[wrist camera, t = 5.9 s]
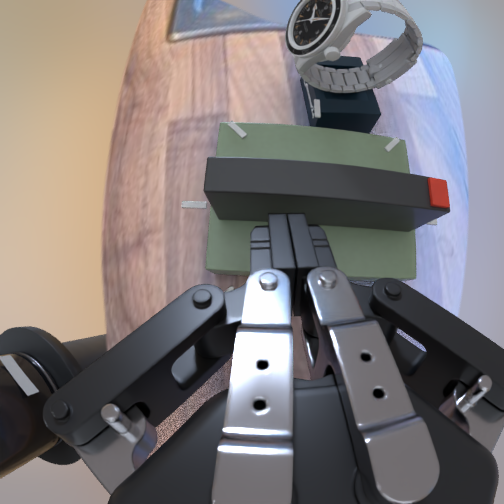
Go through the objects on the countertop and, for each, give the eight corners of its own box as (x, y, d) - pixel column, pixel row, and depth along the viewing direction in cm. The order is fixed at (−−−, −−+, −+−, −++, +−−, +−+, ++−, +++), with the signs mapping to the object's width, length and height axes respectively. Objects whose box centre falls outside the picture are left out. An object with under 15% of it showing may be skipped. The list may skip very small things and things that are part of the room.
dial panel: (185, 336, 18) (170, 343, 15) (206, 120, 20) (198, 95, 17) (412, 341, 18) (435, 347, 15) (403, 138, 20) (420, 117, 17)
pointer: (217, 220, 16) (201, 189, 11) (220, 192, 16) (206, 153, 12) (409, 232, 16) (453, 210, 11) (407, 206, 16) (449, 178, 11)
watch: (275, 80, 21) (282, -34, 10) (369, 82, 21) (413, -14, 10) (285, 138, 20) (302, 16, 9) (388, 138, 20) (456, 43, 9)
